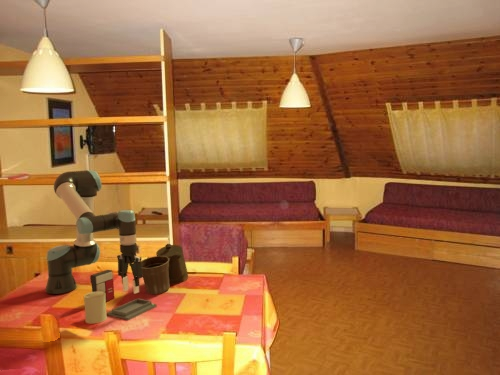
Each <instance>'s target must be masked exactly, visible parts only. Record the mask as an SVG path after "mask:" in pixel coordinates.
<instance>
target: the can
mask: <svg viewBox="0 0 500 375" xmlns="http://www.w3.org/2000/svg"><path fill="white" fill-rule="evenodd" d="M83 301H84V302H83V303H84V316H85V317H84V318H85V319H84V320H85V323H86V324H90V325H91V324H99V323H102V322H104V321H106V320H107V319H108V315H107V304H106V303H107V302H106V300H105V292H102V291H96V292H92V291H90V292H88V293H86V294H84V295H83Z"/></svg>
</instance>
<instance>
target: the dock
mask: <svg viewBox="0 0 500 375" xmlns="http://www.w3.org/2000/svg"><path fill="white" fill-rule="evenodd" d="M155 308H157V304H156V303H153V302H152V300H147V299H143V298H136V299H134V300H130V301H129V302H127V303H124V304H122V305H121V304H120V305H119V306H116V307H115V308H113V309H111V310H109V311H106V315H107V316H111V317H115V318H119V319H122V320H126V321H131V320H132V319H134V318H136V317H138V316H139V315H143V314H144V313H146V312H149V311H151V310H153V309H155Z"/></svg>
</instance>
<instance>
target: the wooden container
mask: <svg viewBox="0 0 500 375" xmlns="http://www.w3.org/2000/svg"><path fill="white" fill-rule="evenodd" d="M156 256H160V258H161V259H162V260H163V259H164V257H162V256H166V257H168V258H169V267H168V271H169V285H177V284H181V283H184V282H186V281H187V280H188V278H189V273H188V270H187V269H188V268H187V265H186V260H185V255H184V250H183V247H182V246H181V245H180V244H171V243H167V244H165V246H162V247H161V248H159V249H158V250H157V251H156Z"/></svg>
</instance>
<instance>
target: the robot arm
mask: <svg viewBox="0 0 500 375" xmlns="http://www.w3.org/2000/svg"><path fill="white" fill-rule="evenodd" d="M101 189H102V180H101V176H100V174H98V172H97V171H95V170H88V169H87V170H75V171H74V170H73V171H65V172H62V173H61V174H59V175H58V176H57V177H56V179H55V180H54V182H53V191H54V194H55V195H56V197H57V198H59V199H60V200H61V199H62V201H63V202H64V204H65V205H66V206H67V208H68V209H69V211H70V213H72V215H73V216H74V218H75V219H76V223H75V224H76V225H75V226H76V239H75V240H74V241H73V246H70V244H61V245H57V246H53V247H51V248H50V249H48V250H47V251H46V252H47V253H46V262H47V272H48V273H47V274H48V278H47V281H46V286H45V293H47V294H50V295H57V294H64V293H68V292H72V291H74V290H75V289H77V281H76V280H75V277H74V275H73V271H72V270H73V269H74V268H79V267H83V266H89V265H92V264H95V263H96V262H98V261H99V258H100V256H101V250H100V246H99V244H98V242H97V241H96V239H94V233H99V232H106V231H111V230H118V234H119V244H120V245H119V252H120V253H121V254H118V255H117V256H116V258H117V275H118V276H119V277H121V284H122V292H127V291H129V289H130V288H129V276H128V269H129V267H130V270H131V273H132V277H133V279H132V287H133V294H138V293H140V279H143V276H142V267H141V261H142V256H138V255H137V251H138V244H137V229H136V228H137V226H136V224H137V223H136V215H135V211H134V209H133V210H132V209H123V210H119V211H118V212H116V211H115V212H109V213H108V214H100V215H99V214H98V215H95V214H94V212H95V211H94V207H95V203H94V202H95V198H96V197H97V195H98V192H99V191H101Z"/></svg>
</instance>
